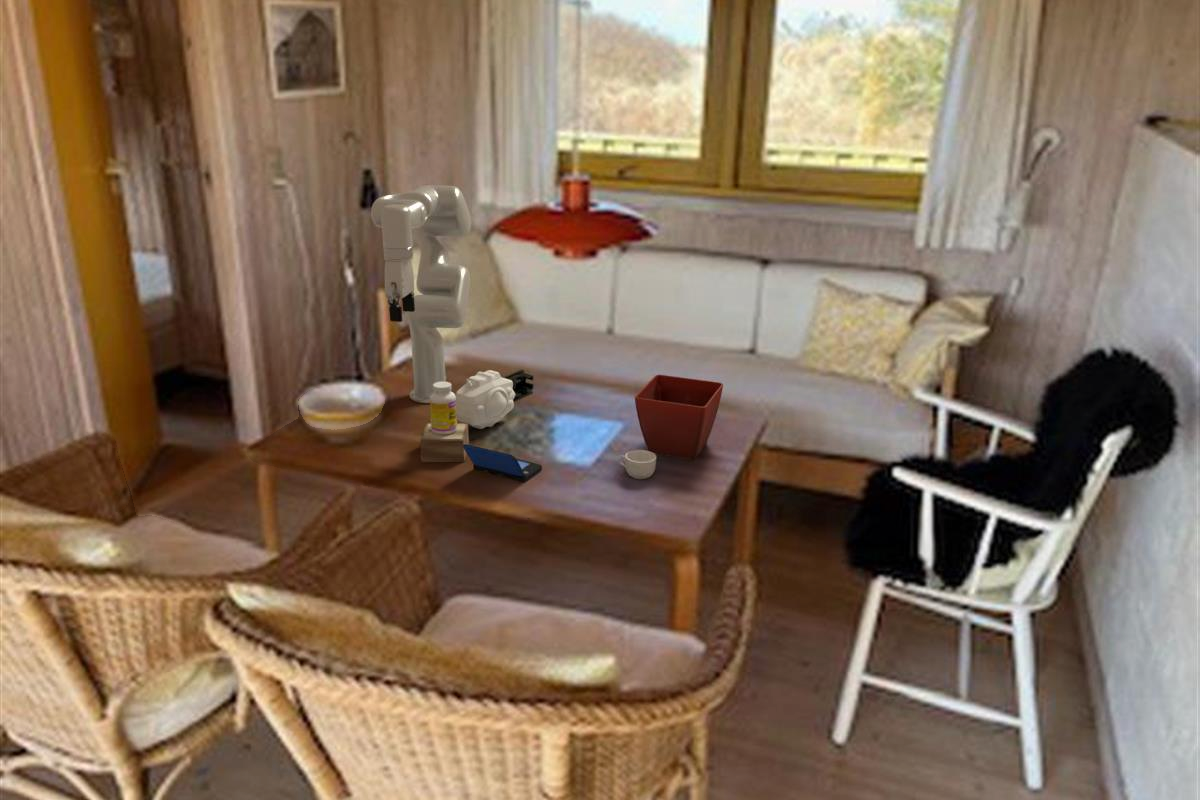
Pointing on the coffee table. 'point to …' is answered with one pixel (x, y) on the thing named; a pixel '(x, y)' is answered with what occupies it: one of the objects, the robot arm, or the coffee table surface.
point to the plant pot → (677, 414)
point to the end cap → (520, 384)
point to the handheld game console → (501, 464)
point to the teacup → (639, 463)
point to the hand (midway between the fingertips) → (402, 316)
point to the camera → (484, 399)
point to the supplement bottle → (443, 409)
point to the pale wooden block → (444, 445)
